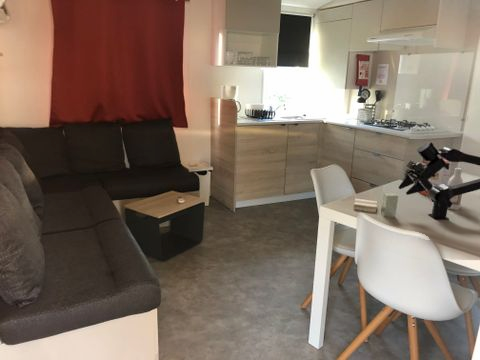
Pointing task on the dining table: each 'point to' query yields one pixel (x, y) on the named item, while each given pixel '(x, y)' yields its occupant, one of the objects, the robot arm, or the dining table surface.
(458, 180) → the bath foam
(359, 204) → the birch block
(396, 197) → the tea tin
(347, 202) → the dining table surface
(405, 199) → the dining table surface
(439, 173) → the cracker box
